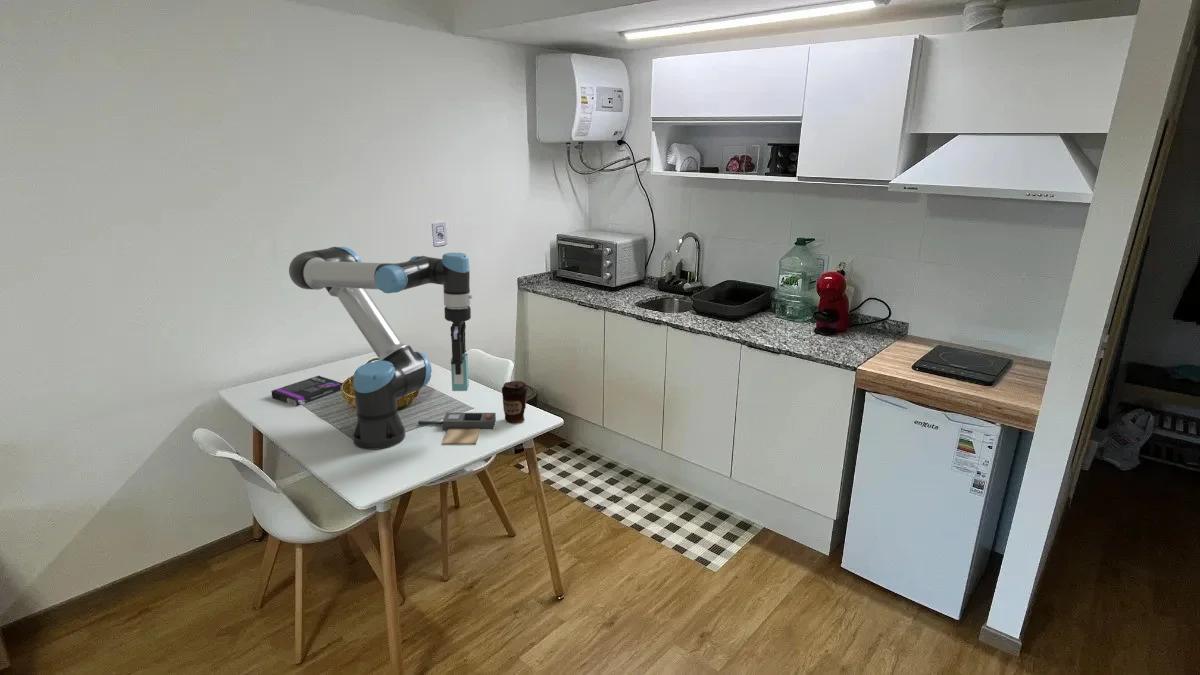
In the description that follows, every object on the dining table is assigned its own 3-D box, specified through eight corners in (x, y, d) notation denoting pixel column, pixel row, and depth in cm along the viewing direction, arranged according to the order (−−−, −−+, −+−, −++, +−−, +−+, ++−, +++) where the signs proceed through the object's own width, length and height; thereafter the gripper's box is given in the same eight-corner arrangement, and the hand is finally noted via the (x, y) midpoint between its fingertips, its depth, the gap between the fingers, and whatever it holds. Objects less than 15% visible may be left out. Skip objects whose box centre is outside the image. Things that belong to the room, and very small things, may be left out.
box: (296, 409, 215) (344, 390, 231) (295, 399, 214) (343, 381, 230) (272, 399, 222) (320, 382, 238) (270, 390, 220) (319, 373, 236)
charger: (452, 391, 189) (450, 357, 186) (454, 385, 193) (452, 353, 190) (466, 391, 190) (465, 357, 186) (468, 385, 194) (467, 353, 191)
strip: (415, 429, 200) (414, 419, 199) (420, 420, 206) (419, 410, 205) (493, 429, 201) (492, 419, 200) (495, 420, 207) (495, 411, 206)
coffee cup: (522, 427, 203) (522, 390, 199) (498, 424, 204) (497, 387, 201) (530, 416, 211) (530, 380, 207) (507, 414, 213) (506, 378, 209)
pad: (442, 444, 190) (442, 442, 190) (448, 430, 200) (448, 428, 199) (475, 444, 191) (475, 442, 190) (480, 430, 200) (480, 428, 200)
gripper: (466, 314, 176) (469, 391, 183) (473, 299, 193) (475, 370, 199) (439, 313, 175) (443, 391, 182) (448, 299, 192) (451, 370, 199)
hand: (460, 380), depth 191 cm, fingers closed on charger, 4 cm apart
